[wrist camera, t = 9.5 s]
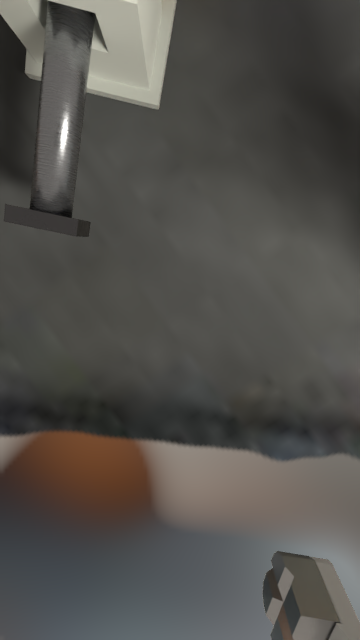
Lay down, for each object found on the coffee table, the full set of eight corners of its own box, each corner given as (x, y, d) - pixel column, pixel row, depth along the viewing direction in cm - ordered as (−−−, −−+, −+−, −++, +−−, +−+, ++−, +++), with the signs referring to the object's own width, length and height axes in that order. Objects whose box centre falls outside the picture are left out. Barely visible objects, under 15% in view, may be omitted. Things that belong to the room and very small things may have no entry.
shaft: (49, -60, 22) (26, -116, 18) (124, -39, 22) (116, -90, 19) (25, 223, 26) (3, 221, 23) (88, 236, 27) (76, 236, 23)
